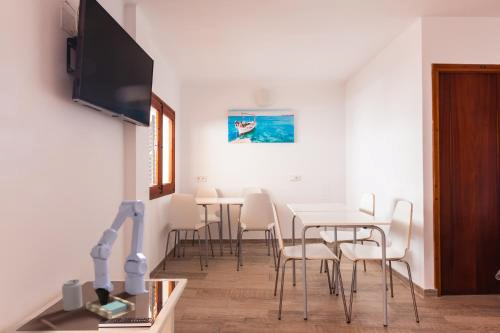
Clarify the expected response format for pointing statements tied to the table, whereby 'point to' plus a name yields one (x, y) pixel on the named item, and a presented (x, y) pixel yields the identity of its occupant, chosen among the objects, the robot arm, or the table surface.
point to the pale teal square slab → (115, 307)
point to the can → (72, 295)
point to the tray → (97, 309)
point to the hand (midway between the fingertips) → (104, 305)
